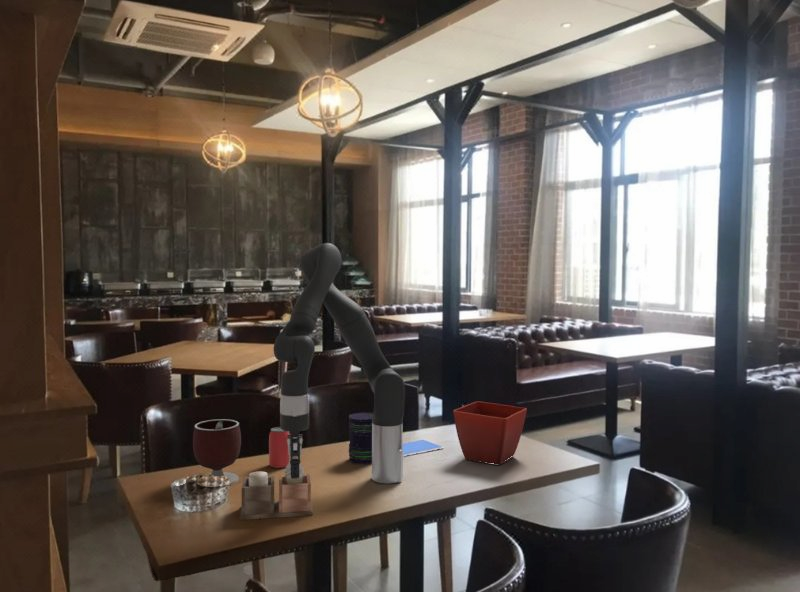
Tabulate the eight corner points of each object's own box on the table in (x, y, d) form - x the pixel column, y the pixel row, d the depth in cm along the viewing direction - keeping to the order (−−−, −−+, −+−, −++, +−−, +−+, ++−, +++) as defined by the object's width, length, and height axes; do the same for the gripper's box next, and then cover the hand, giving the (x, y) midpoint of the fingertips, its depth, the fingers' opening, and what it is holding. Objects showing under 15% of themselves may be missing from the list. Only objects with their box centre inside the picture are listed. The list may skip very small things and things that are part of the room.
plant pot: (527, 456, 222) (528, 407, 221) (504, 471, 205) (505, 418, 205) (476, 447, 232) (477, 400, 231) (451, 460, 216) (451, 410, 215)
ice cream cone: (285, 502, 174) (285, 447, 173) (304, 501, 175) (304, 446, 174) (284, 509, 169) (283, 452, 168) (303, 508, 170) (303, 452, 169)
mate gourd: (190, 476, 198) (190, 411, 197) (237, 471, 203) (236, 408, 202) (196, 493, 184) (195, 423, 183) (245, 486, 189) (245, 419, 188)
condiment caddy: (311, 502, 177) (311, 466, 177) (312, 515, 168) (312, 477, 168) (241, 506, 174) (241, 469, 173) (239, 519, 165) (239, 481, 164)
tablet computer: (399, 459, 218) (399, 455, 218) (379, 450, 229) (379, 446, 229) (444, 450, 229) (444, 447, 229) (423, 442, 240) (423, 439, 240)
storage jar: (367, 466, 209) (367, 420, 208) (342, 461, 214) (342, 416, 213) (384, 458, 217) (384, 414, 217) (360, 454, 222) (360, 411, 222)
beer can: (265, 467, 207) (264, 430, 207) (276, 461, 213) (276, 425, 213) (282, 470, 205) (282, 432, 204) (293, 464, 211) (293, 427, 210)
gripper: (280, 405, 177) (280, 467, 178) (280, 417, 163) (280, 484, 164) (307, 404, 178) (308, 465, 179) (310, 416, 164) (310, 482, 165)
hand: (294, 474), depth 171 cm, fingers closed on ice cream cone, 5 cm apart
